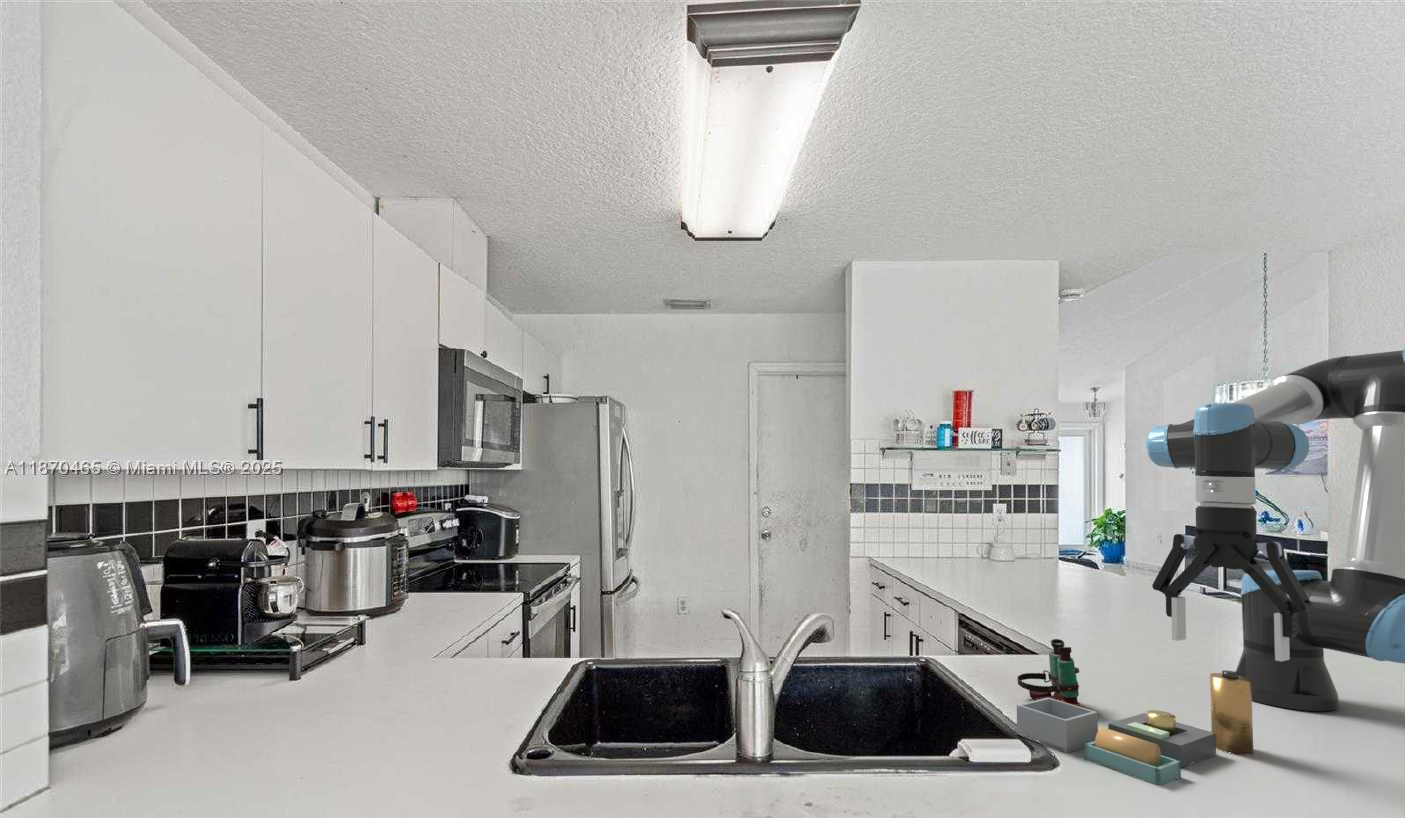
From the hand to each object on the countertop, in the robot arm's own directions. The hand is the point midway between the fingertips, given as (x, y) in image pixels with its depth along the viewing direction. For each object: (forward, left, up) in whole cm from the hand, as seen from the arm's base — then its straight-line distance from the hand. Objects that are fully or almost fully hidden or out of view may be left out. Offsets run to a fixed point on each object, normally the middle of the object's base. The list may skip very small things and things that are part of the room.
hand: (1228, 649), depth 111 cm
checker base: (+10, -5, -14) cm, 18 cm away
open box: (+20, -15, -14) cm, 29 cm away
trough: (+21, -3, -14) cm, 25 cm away
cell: (0, 0, -14) cm, 14 cm away
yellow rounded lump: (+10, -5, -12) cm, 16 cm away
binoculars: (+5, -26, -15) cm, 30 cm away
